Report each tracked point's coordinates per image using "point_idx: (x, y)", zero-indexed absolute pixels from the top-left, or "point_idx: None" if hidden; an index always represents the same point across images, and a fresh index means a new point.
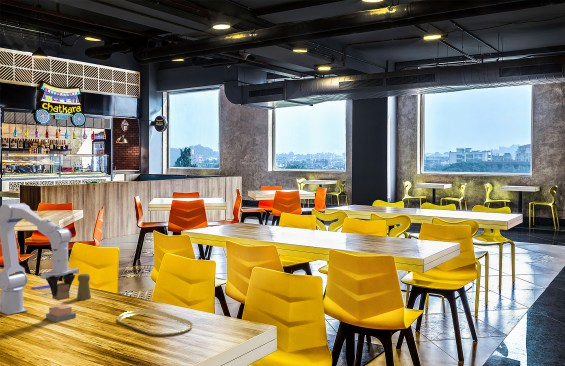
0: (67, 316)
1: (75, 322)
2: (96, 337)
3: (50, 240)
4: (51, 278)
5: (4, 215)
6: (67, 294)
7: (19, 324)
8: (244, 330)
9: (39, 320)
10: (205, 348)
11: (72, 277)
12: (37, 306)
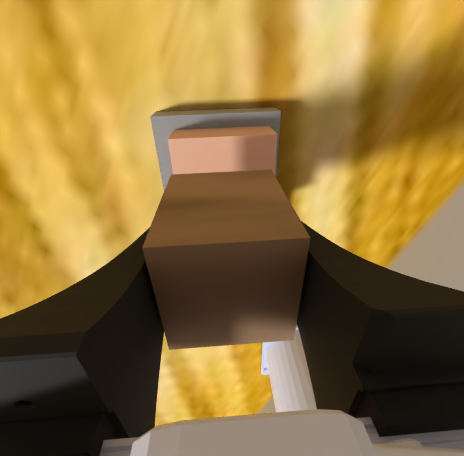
0: (207, 112)
1: (196, 2)
2: None
3: None
4: (446, 378)
5: None
6: (183, 188)
7: (388, 201)
8: None
9: (304, 200)
10: None
11: (31, 327)
12: (213, 351)
